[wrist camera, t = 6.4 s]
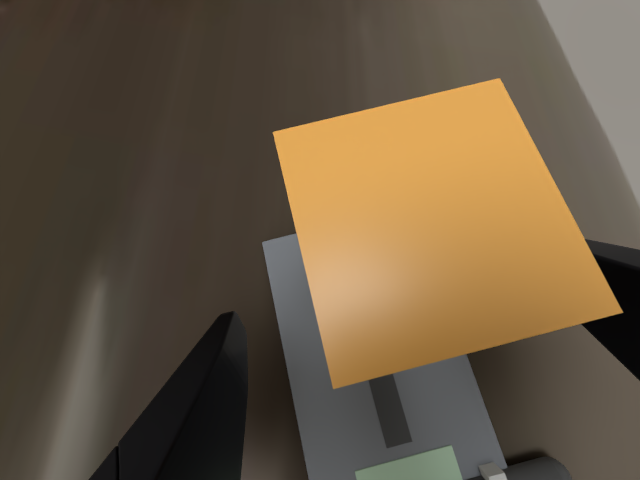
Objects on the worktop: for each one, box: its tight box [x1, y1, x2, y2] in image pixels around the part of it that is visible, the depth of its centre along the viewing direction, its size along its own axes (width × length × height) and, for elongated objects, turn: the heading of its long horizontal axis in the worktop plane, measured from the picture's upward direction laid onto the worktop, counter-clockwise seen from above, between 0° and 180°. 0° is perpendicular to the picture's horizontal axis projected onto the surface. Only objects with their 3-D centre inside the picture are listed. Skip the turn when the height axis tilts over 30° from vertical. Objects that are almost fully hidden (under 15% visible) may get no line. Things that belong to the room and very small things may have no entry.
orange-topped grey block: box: [273, 78, 623, 389], centre depth 10 cm, size 4×4×12 cm
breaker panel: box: [262, 234, 508, 480], centre depth 15 cm, size 15×10×1 cm, turn 14°
